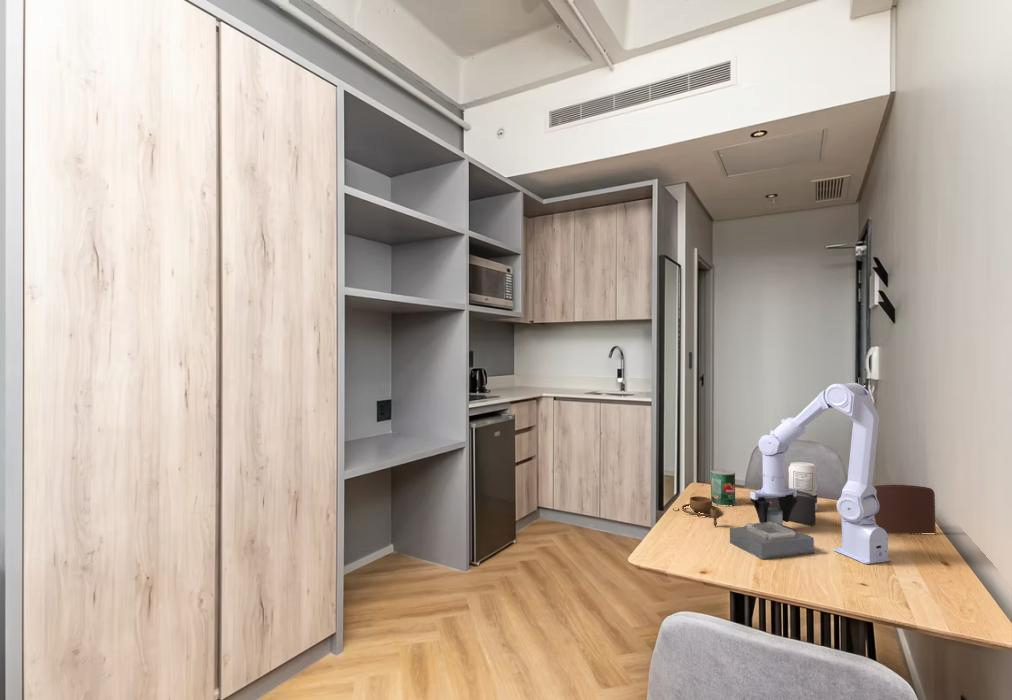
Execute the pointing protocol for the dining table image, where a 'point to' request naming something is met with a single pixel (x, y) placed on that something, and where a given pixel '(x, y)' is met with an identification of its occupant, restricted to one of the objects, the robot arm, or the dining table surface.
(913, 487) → the letter holder
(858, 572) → the dining table surface
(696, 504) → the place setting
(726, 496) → the canned tomato
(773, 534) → the grey square pedestal
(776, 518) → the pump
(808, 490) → the supplement can
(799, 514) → the dark grey slab
